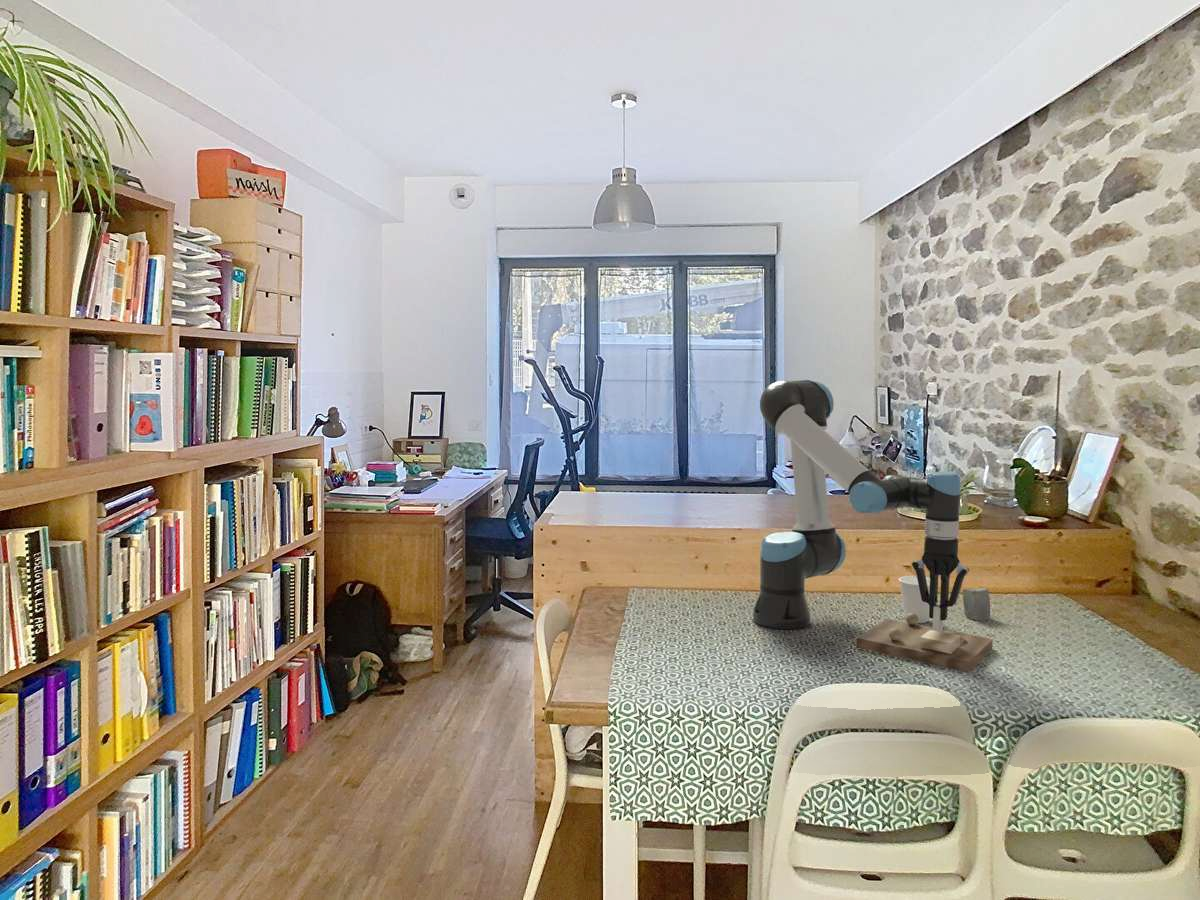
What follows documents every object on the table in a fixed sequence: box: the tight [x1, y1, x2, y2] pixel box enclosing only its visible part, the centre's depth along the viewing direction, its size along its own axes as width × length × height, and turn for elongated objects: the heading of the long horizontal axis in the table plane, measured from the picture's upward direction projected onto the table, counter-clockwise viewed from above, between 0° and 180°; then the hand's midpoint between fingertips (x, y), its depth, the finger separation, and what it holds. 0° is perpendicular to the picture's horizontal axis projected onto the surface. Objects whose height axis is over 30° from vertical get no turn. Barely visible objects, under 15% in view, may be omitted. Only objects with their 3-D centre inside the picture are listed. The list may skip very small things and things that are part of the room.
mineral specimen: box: [962, 587, 991, 622], centre depth 229 cm, size 7×9×8 cm
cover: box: [920, 630, 960, 654], centre depth 196 cm, size 7×7×2 cm
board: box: [855, 618, 993, 673], centre depth 203 cm, size 26×20×2 cm
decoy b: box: [905, 613, 919, 625], centre depth 213 cm, size 3×3×3 cm
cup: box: [898, 575, 930, 624], centre depth 225 cm, size 10×10×11 cm
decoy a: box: [889, 628, 902, 641], centre depth 201 cm, size 3×3×3 cm
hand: (937, 632), depth 203 cm, fingers closed
